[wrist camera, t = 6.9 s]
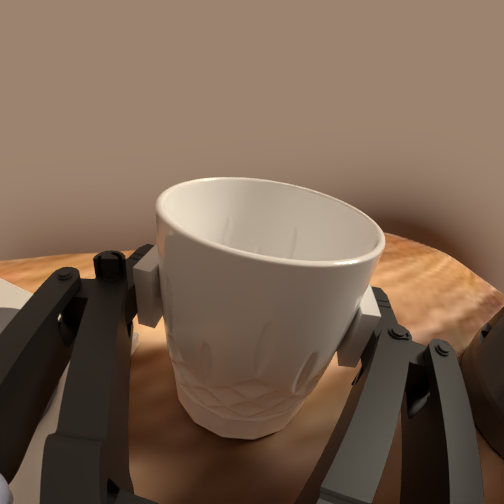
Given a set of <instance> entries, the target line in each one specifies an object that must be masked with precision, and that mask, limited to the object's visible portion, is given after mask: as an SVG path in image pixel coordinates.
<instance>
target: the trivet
mask: <svg viewBox="0 0 504 504" xmlns="http://www.w3.org/2000/svg"><path fill="white" fill-rule="evenodd" d="M32 295H33V294H32V293H30V292H28V291H26V290H24V289H22V288H20V287H17V286H15V285H13V284H11V283H9V282H7V281H5V280H3V279H1V278H0V334H1V332H2V331H3V330H4V329H5V327H6V326H7V325H8V324H9V322H10V321H11V320H12V319H13V317H14V316H15V315H16V314H17V313H18V311H19V310H20V309H21V308H22V307H23V306H24V304H25V303H26V302H27V301H28V300H29V299H30V297H31V296H32ZM60 317H61V315H59V317H58V320H59V319H60ZM139 343H140V342H139V335H138V333H134V332H133V337H132V349H131V356H132V354H133V353H134V351H135V350H136V348H137V346H138V345H139ZM69 363H70V362H69ZM69 363H68V365H67V367H66V369H65V371H64V373H63V375H62V377H61V378H60V380H59V382H58V384H57V386H56V388H55V390H54V392H53V394H52V396H51V398H50V400H49V402H48V404H47V406H46V408H45V411H44V413H43V415H42V417H41V419H40V421H39V424H38V426H37V428H36V430H35V433H34V435H33V437H32V439H31V442H30V444H29V447H28V449H27V452H26V454H25V457H24V459H23V461H22V464H21V466H20V468H19V470H18V472H17V474H16V475H15V477H14V479H13V480H12V482H11V483H10V484H9V485H8V486H9V490H10V491H11V492H12V494H13V497H14V501H13V503H12V504H40V482H41V469H42V458H43V450H44V444H45V440H46V438H47V436H48V435H49V434H52V433H55V431H56V429H57V424H58V418H59V412H60V406H61V401H62V395H63V390H64V386H65V381H66V376H67V372H68V368H69Z"/></svg>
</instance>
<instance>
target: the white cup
mask: <svg viewBox="0 0 504 504" xmlns="http://www.w3.org/2000/svg"><path fill="white" fill-rule="evenodd" d="M156 229H157V248H158V263H159V277H160V289H161V300H162V310H163V319H164V327H165V333H166V339H167V346H168V351H169V357H170V360H171V363H172V366H173V369H174V374H175V380H176V387H177V393H178V399H179V401H180V402H181V404H182V405H183V407H184V408H185V410H186V411H187V412H188V414H189V415H190V417H191V418H192V419H193V421H194V422H195V423H197V424H199V425H200V426H202V427H204V428H206V429H208V430H210V431H211V432H213V433H215V434H217V435H219V436H221V437H227V438H239V439H257V438H260V437H263V436H266V435H269V434H271V433H274V432H277V431H279V430H282V429H283V428H284V427H285V426H286V425H287V424H288V423H289V422H290V420H291V419H292V418H293V417H294V416H295V415H296V414H297V412H298V411H299V410H300V408H301V407H302V405H303V403H304V402H305V400H306V398H307V396H308V395H310V394H311V393H312V391H313V390H314V388H315V387H316V385H317V384H318V382H319V380H320V378H321V377H322V375H323V374H324V372H325V370H326V368H327V367H328V365H329V363H330V362H331V360H332V358H333V356H334V354H335V352H336V351H337V350H338V348H339V346H340V344H341V343H342V341H343V339H344V337H345V335H346V333H347V331H348V329H349V327H350V325H351V323H352V320H353V318H354V316H355V314H356V312H357V310H358V308H359V306H360V303H361V301H362V299H363V297H364V294H365V292H366V290H367V288H368V285H369V283H370V281H371V278H372V276H373V274H374V271H375V269H376V267H377V264H378V262H379V259H380V257H381V255H382V252H383V250H384V247H385V236H384V234H383V232H382V230H381V229H380V227H379V226H378V225H377V224H376V223H375V222H374V221H373V220H372V219H371V218H370V217H368V216H367V215H366V214H364V213H363V212H361V211H360V210H358V209H356V208H355V207H353V206H351V205H349V204H347V203H345V202H343V201H341V200H339V199H336V198H333V197H331V196H329V195H325V194H323V193H320V192H317V191H314V190H311V189H307V188H304V187H300V186H296V185H292V184H287V183H282V182H276V181H269V180H263V179H253V178H240V177H216V178H205V179H196V180H191V181H187V182H183V183H180V184H177V185H174V186H172V187H170V188H168V189H167V190H165V191H164V192H162V193H161V194H160V196H159V197H158V198H157V201H156Z"/></svg>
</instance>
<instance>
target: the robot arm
mask: <svg viewBox="0 0 504 504" xmlns="http://www.w3.org/2000/svg"><path fill="white" fill-rule="evenodd" d="M93 261H94V268H95V275H96V278H95V279H83V278H80V274H79V271H78V270H77V269H76V268H73V267H63V268H60V269H58V270H56V271H55V272H54V273H52V274H51V276H50V277H49V278H48V279H47V280H46V281H45V282H44V283H43V284H42V285H41V286H40V287H39V289H38V290H37V291H36V292H35V293H34V294H33V295H32V296H31V297H30V299H29V300H28V301H27V302H26V303H25V304H24V306H23V307H22V308H21V309H20V310H19V311H18V313H17V314H16V315H15V316H14V317H13V319H12V320H11V321H10V322H9V324H8V325H7V326H6V327H5V329H4V330H3V331H2V332H1V334H0V504H12V503H13V501H14V497H13V494H12V492H11V491H10V490H9V486H8V485H9V484H10V483H11V482H12V480H13V479H14V477H15V475H16V474H17V472H18V470H19V468H20V466H21V464H22V461H23V459H24V457H25V454H26V452H27V449H28V447H29V444H30V442H31V439H32V437H33V435H34V433H35V430H36V428H37V426H38V424H39V421H40V419H41V417H42V415H43V413H44V411H45V408H46V406H47V404H48V402H49V400H50V398H51V396H52V394H53V392H54V390H55V388H56V386H57V384H58V382H59V380H60V378H61V377H62V375H63V373H64V371H65V369H66V367H67V365H68V363H69V362H70V363H69V368H68V372H67V376H66V381H65V386H64V390H63V395H62V401H61V406H60V412H59V418H58V424H57V429H56V431H55V433H52V434H49V435H48V436H47V438H46V440H45V444H44V450H43V458H42V469H41V482H40V504H158V503H156V502H153V501H151V500H148V499H145V498H142V497H140V496H137V495H134V489H133V484H132V481H131V477H130V472H129V451H128V403H129V378H130V362H131V349H132V337H133V321H132V320H133V318H134V317H135V316H136V314H137V316H138V323H139V324H142V325H145V326H149V327H152V328H155V327H156V325H157V324H158V322H159V320H160V319H161V317H162V316H163V310H162V300H161V289H160V277H159V263H158V248H157V244H156V245H150V244H146V245H144V246H142V247H139V248H138V249H137V250H136V251H135V252H134V253H133V254H132V255H131V256H130V257H129V258H128V259H125V255H124V254H123V253H121V252H119V251H105V252H101V253H99V254H97V255H96V256H95V257H94V258H93ZM59 315H61V317H60V319H59V320H58V317H59ZM337 358H338V366H346V367H356V365H357V364H358V362H359V360H360V358H361V363H362V367H361V369H360V370H359V372H358V374H357V376H356V377H355V379H354V381H353V382H352V384H351V385H353V387H352V389H351V392H350V394H349V397H348V399H347V402H346V404H345V406H344V409H343V411H342V413H341V415H340V418H339V420H338V422H337V424H336V427H335V429H334V431H333V433H332V435H331V437H330V439H329V441H328V443H327V445H326V447H325V449H324V451H323V453H322V455H321V457H320V459H319V461H318V463H317V465H316V467H315V468H314V470H313V472H312V474H311V476H310V478H309V479H308V481H307V483H306V485H305V486H304V488H303V490H302V491H301V493H300V495H299V496H298V498H297V500H296V501H295V503H294V504H371V503H372V500H373V497H374V495H375V492H376V489H377V487H378V484H379V481H380V478H381V476H382V473H383V470H384V467H385V463H386V460H387V457H388V454H389V451H390V447H391V444H392V440H393V436H394V433H395V429H396V425H397V421H398V417H399V412H400V408H401V422H402V475H401V494H400V504H484V498H483V483H482V472H481V463H480V456H479V449H478V443H477V437H476V431H475V426H474V421H475V423H476V425H477V427H478V428H479V430H480V431H481V433H482V434H483V436H484V437H485V439H486V440H487V441H488V442H489V444H490V445H491V446H492V447H493V448H494V449H495V450H496V451H497V452H498V453H499V454H500V455H501V456H502V457H504V307H503V308H502V309H501V310H500V311H499V312H498V313H497V314H496V315H495V316H494V317H493V318H492V319H491V320H490V321H489V322H488V323H486V324H485V325H484V326H483V327H482V328H481V329H480V330H479V331H478V332H477V334H476V335H475V337H474V339H473V340H472V342H471V343H470V345H469V346H468V348H467V349H466V351H465V352H464V354H463V357H462V360H461V365H460V366H459V363H458V359H457V356H456V353H455V351H454V349H453V347H452V346H451V345H450V344H449V343H447V342H446V341H444V340H441V339H433V340H431V341H430V343H429V344H428V346H424V345H421V344H419V343H416V342H414V341H412V336H411V334H410V332H409V331H408V330H407V329H406V328H405V327H403V326H401V325H399V324H398V323H397V320H396V317H395V315H394V312H393V310H392V309H391V305H390V303H389V300H388V297H387V295H386V294H385V293H384V292H383V290H382V289H381V288H377V287H371V285H370V283H369V285H368V288H367V290H366V292H365V294H364V297H363V299H362V301H361V303H360V306H359V308H358V310H357V312H356V314H355V316H354V318H353V320H352V323H351V325H350V327H349V329H348V331H347V333H346V335H345V337H344V339H343V341H342V343H341V344H340V346H339V348H338V350H337ZM473 420H474V421H473Z"/></svg>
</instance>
